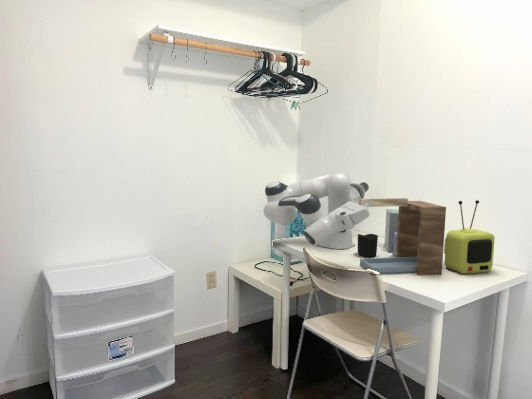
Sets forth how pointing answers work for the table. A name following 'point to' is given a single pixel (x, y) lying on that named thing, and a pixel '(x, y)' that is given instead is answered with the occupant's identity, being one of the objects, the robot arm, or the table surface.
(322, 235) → the robot arm
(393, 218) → the hard drive box
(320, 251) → the table surface
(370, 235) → the pen holder
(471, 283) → the table surface
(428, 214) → the shelf
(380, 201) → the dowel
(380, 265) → the tray
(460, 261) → the television
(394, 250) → the ink cartridge box
